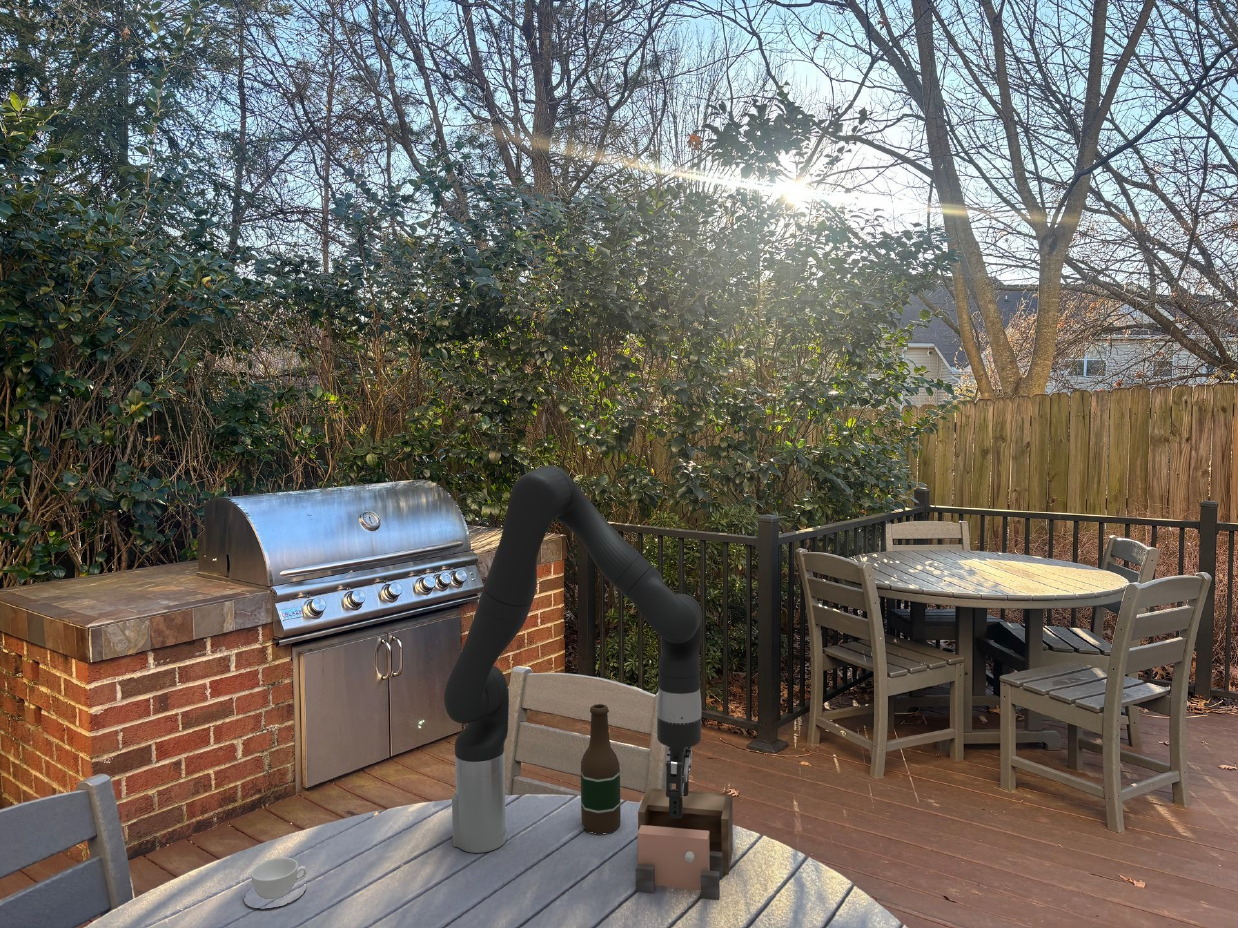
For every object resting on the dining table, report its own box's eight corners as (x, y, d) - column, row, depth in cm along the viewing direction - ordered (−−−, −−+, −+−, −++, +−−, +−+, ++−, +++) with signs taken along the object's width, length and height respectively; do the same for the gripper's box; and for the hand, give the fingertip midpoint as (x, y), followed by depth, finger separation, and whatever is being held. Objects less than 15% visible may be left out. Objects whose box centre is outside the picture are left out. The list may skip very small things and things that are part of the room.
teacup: (245, 918, 138) (244, 890, 137) (242, 888, 146) (241, 861, 146) (310, 901, 142) (309, 874, 142) (303, 873, 151) (302, 848, 151)
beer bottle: (622, 817, 170) (621, 699, 169) (618, 836, 163) (617, 713, 161) (584, 816, 171) (582, 699, 170) (578, 834, 163) (576, 712, 162)
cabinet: (630, 890, 144) (629, 832, 143) (648, 838, 161) (647, 787, 161) (724, 900, 140) (724, 841, 140) (732, 846, 158) (732, 794, 158)
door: (637, 887, 145) (636, 835, 144) (641, 874, 149) (640, 824, 148) (707, 894, 142) (706, 842, 142) (709, 881, 146) (709, 830, 146)
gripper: (696, 730, 137) (696, 827, 138) (705, 700, 151) (705, 789, 152) (650, 726, 138) (650, 823, 139) (663, 698, 152) (663, 786, 153)
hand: (679, 805), depth 146 cm, fingers open, 8 cm apart
